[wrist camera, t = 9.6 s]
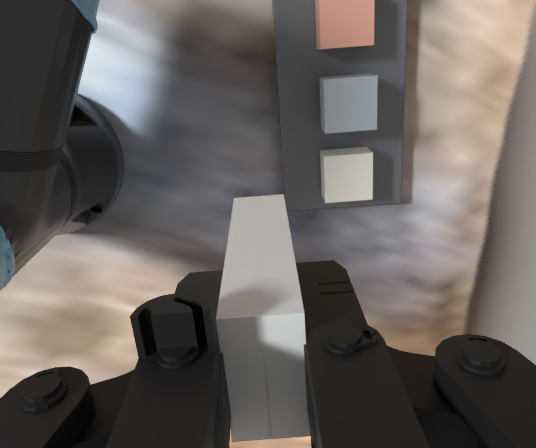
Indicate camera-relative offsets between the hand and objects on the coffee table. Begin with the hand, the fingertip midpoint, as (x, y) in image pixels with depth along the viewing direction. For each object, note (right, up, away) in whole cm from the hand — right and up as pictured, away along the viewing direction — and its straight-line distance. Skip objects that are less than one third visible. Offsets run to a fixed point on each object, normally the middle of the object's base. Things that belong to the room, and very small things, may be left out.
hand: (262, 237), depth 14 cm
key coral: (+7, +19, +29) cm, 35 cm away
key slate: (+7, +12, +30) cm, 33 cm away
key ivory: (+8, +6, +34) cm, 35 cm away
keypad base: (+7, +13, +32) cm, 35 cm away
